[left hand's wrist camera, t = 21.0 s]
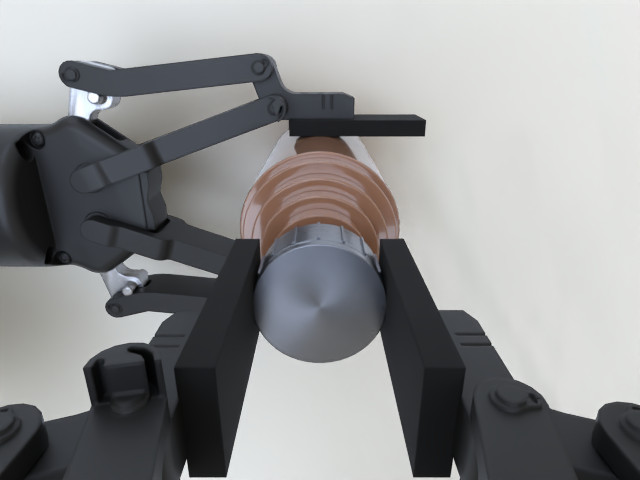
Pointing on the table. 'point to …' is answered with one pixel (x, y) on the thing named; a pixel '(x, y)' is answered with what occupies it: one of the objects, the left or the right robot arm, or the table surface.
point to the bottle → (319, 191)
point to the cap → (319, 294)
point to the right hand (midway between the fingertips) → (413, 196)
